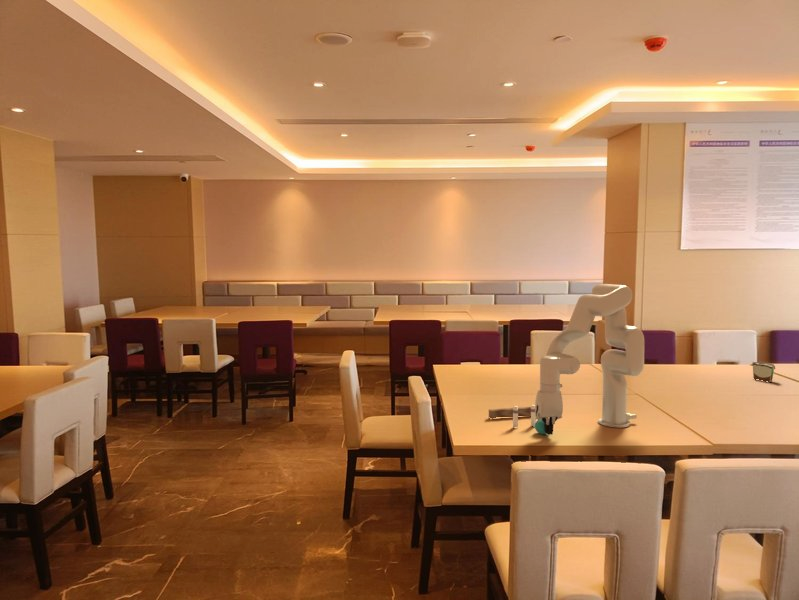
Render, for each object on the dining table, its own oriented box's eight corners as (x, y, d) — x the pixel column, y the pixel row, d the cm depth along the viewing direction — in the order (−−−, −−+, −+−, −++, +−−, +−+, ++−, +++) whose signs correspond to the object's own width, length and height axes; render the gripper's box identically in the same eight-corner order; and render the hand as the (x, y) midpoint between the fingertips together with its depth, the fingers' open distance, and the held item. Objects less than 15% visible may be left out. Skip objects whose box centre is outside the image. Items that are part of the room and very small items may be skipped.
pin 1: (516, 426, 228) (516, 405, 227) (518, 428, 226) (518, 407, 225) (511, 427, 228) (512, 406, 227) (514, 428, 226) (514, 407, 225)
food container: (780, 382, 304) (780, 365, 303) (772, 383, 301) (773, 365, 300) (758, 378, 315) (759, 361, 314) (751, 379, 313) (751, 361, 312)
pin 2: (534, 425, 230) (534, 404, 229) (536, 427, 228) (536, 405, 227) (529, 425, 229) (530, 404, 228) (531, 427, 227) (532, 406, 226)
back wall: (539, 414, 245) (539, 406, 245) (541, 416, 243) (541, 407, 243) (488, 418, 240) (488, 409, 240) (490, 419, 238) (490, 410, 238)
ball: (552, 435, 218) (544, 425, 223) (553, 423, 215) (545, 414, 220) (539, 438, 217) (531, 429, 222) (540, 427, 214) (532, 417, 219)
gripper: (561, 384, 218) (560, 429, 220) (527, 386, 215) (526, 432, 216) (571, 388, 211) (570, 435, 212) (536, 391, 207) (535, 438, 209)
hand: (548, 433), depth 214 cm, fingers closed
